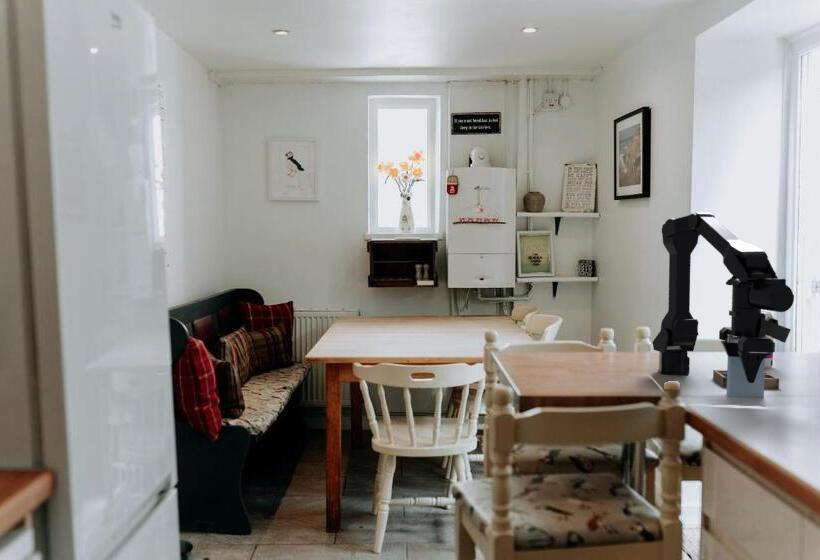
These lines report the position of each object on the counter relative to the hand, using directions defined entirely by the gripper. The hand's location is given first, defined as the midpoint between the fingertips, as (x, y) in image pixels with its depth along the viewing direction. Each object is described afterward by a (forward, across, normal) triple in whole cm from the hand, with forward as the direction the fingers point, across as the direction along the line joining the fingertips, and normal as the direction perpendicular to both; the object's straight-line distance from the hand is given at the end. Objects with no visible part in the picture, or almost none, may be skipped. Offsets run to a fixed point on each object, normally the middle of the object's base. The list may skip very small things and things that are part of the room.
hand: (744, 378), depth 148 cm
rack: (+4, +12, -4) cm, 14 cm away
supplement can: (+5, +38, -14) cm, 41 cm away
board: (+4, 0, 0) cm, 4 cm away
